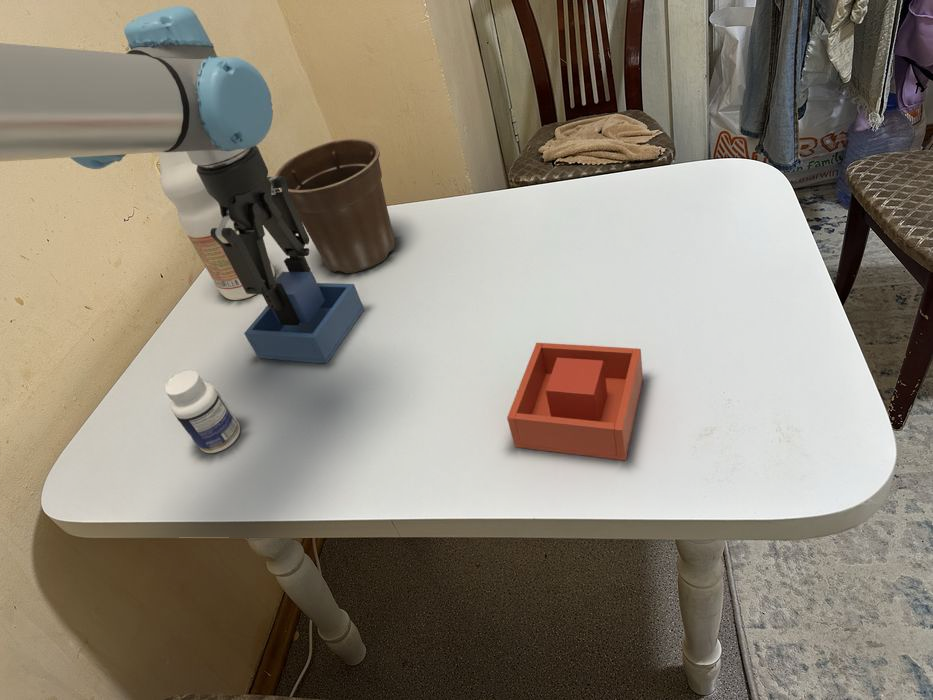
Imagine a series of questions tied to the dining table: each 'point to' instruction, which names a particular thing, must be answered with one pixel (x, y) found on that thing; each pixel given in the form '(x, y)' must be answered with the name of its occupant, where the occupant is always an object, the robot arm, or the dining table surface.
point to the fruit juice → (199, 219)
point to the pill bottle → (202, 412)
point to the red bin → (575, 435)
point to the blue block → (301, 293)
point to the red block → (577, 389)
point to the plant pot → (342, 203)
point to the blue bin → (308, 328)
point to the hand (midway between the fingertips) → (301, 309)
